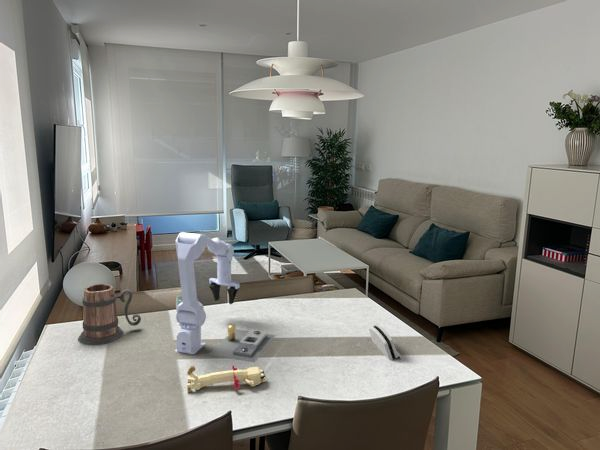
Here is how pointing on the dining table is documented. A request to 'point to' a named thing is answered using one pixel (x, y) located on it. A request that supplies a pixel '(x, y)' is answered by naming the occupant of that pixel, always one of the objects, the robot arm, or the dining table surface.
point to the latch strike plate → (250, 343)
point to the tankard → (103, 315)
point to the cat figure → (226, 377)
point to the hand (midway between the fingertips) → (224, 301)
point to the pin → (231, 332)
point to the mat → (228, 347)
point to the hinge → (383, 342)
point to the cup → (178, 301)
